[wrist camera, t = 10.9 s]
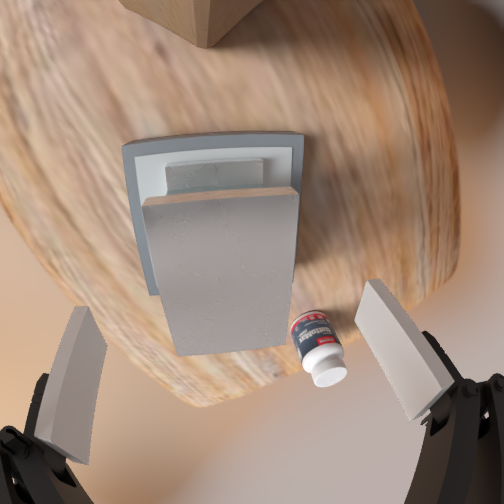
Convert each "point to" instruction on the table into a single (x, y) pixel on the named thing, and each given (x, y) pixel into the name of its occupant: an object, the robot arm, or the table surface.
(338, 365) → the pill bottle
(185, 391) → the table surface
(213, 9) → the wooden block
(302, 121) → the table surface
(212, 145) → the stand
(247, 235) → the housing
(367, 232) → the table surface
